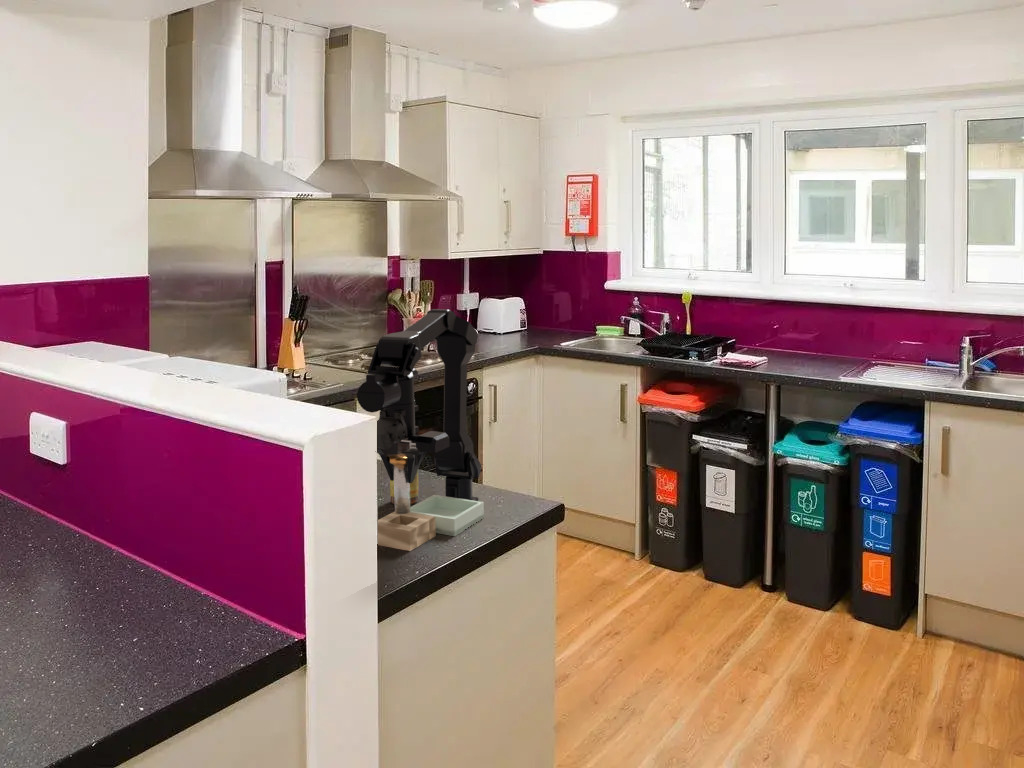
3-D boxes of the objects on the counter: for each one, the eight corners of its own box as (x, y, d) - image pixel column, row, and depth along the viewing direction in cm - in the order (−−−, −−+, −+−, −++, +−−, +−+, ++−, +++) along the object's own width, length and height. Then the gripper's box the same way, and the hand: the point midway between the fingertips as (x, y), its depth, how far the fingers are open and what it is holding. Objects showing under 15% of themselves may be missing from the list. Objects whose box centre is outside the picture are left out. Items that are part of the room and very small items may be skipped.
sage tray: (434, 510, 191) (434, 494, 190) (484, 518, 185) (483, 502, 185) (403, 527, 180) (403, 510, 179) (454, 536, 175) (454, 519, 174)
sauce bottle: (404, 508, 192) (402, 418, 188) (384, 503, 196) (381, 415, 192) (425, 501, 197) (423, 413, 193) (405, 496, 201) (402, 410, 197)
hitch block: (397, 529, 179) (396, 510, 178) (435, 536, 175) (435, 516, 174) (371, 543, 171) (370, 523, 170) (410, 551, 167) (409, 530, 166)
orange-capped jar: (399, 506, 175) (397, 452, 173) (418, 509, 173) (416, 455, 171) (386, 513, 171) (384, 458, 169) (405, 516, 169) (404, 460, 167)
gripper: (333, 405, 165) (336, 486, 168) (417, 414, 157) (420, 499, 160) (368, 395, 175) (371, 471, 178) (450, 403, 167) (451, 483, 169)
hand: (401, 481), depth 171 cm, fingers closed on orange-capped jar, 4 cm apart
